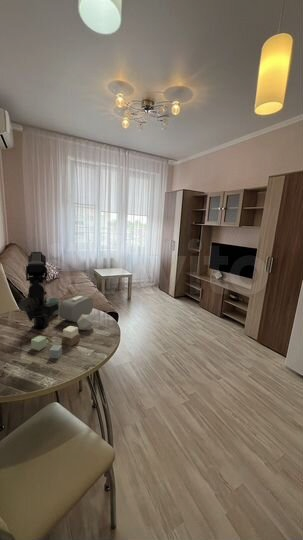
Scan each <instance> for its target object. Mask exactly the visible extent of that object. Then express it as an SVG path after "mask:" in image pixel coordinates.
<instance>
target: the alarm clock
mask: <svg viewBox="0 0 303 540" xmlns="http://www.w3.org/2000/svg"><path fill="white" fill-rule="evenodd" d="M93 308H94V300H93V298H92V297H90V296H84V295H76V296H73V297H70V298H68V299H66V300H64V301H62V302H61V303H60V308H59V313H58V315H59V318H60V319H62V320H65V321H68V322H73V323H77V321H78V320H79V318H80V317H81V315H91V313H92V311H93Z"/></svg>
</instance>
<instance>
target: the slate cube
mask: <svg viewBox="0 0 303 540" xmlns="http://www.w3.org/2000/svg"><path fill="white" fill-rule="evenodd" d="M48 354H49V359H60V357H61V356H62V354H63V345H62V344H61V345H60V344H58V345H56V344H53V345H52V346H51V347H50V348H49V353H48Z"/></svg>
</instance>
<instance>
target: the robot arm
mask: <svg viewBox="0 0 303 540" xmlns="http://www.w3.org/2000/svg"><path fill="white" fill-rule="evenodd" d="M46 257H47V256H46V255H44V254H43V251H31V252H30V254H29V255H28V257H27V258H28V259H27V260H28V261H27V265H25V280H26V282H27V281H28V282H29V285H28V293H27V297H26V298H25V297H24V298H22V299H19V300H18V301H17V308H19V310H20V311H21V312H25V314H26V316H27V318H28V320H29V321H30V322H33V325H32V326H31V328H32V329H36V330H39V331H41V330H43V329H45V328H47V327H48V326H50V325H49V322H50V320H51V318H52V317H53V316H52V314H53V313H54V312H55V311H56V310H58V304H55V303H49V304H46V302H47V299H45V297H46V296H45V295H47V291H45V280H46V281H47V278H48V268H47V258H46Z"/></svg>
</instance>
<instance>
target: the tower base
mask: <svg viewBox="0 0 303 540" xmlns="http://www.w3.org/2000/svg"><path fill="white" fill-rule="evenodd" d="M80 339H81V337H80V333H78V335H76V336H74V337H73V338H68V337H64V336H63V335H61V345H65V346H66V345H67V346H70V347H72V346H74V345H75V344H77V343H79V342H80Z"/></svg>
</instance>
